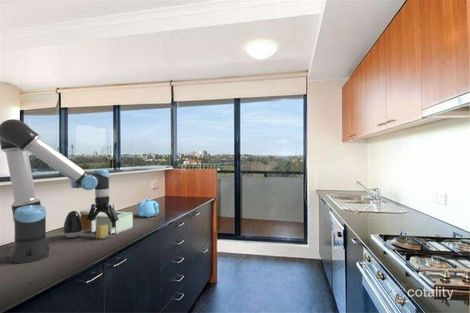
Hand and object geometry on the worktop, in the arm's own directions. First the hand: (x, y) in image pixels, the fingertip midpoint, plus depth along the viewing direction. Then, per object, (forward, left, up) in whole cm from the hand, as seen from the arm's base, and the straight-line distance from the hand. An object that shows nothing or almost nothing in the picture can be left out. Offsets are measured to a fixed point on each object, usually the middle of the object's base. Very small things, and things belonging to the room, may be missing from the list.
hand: (102, 232), depth 160 cm
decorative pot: (+58, +8, -3) cm, 58 cm away
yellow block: (0, 0, -3) cm, 3 cm away
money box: (+16, +4, -3) cm, 16 cm away
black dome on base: (-4, +17, -3) cm, 18 cm away
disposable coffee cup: (+14, +24, -3) cm, 28 cm away
